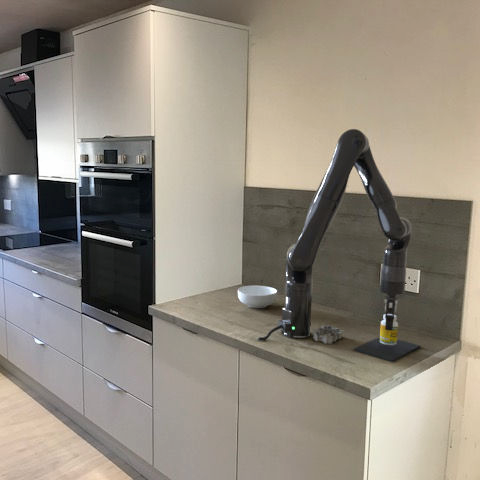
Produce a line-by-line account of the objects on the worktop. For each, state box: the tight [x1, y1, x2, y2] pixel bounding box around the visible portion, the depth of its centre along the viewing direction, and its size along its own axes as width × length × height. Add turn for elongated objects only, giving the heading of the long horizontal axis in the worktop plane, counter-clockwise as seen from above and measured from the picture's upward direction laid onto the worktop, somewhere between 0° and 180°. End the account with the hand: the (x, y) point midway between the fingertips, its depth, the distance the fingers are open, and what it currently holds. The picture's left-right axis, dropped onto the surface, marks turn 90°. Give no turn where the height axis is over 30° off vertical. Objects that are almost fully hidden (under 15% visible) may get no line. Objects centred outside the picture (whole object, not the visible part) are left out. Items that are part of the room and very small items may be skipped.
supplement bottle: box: [379, 313, 399, 345], centre depth 176 cm, size 5×5×10 cm
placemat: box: [353, 336, 421, 363], centre depth 177 cm, size 20×13×1 cm, turn 131°
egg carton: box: [311, 323, 344, 345], centre depth 186 cm, size 11×8×4 cm
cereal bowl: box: [237, 285, 278, 309], centre depth 226 cm, size 17×17×7 cm
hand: (389, 327), depth 176 cm, fingers closed on supplement bottle, 5 cm apart
